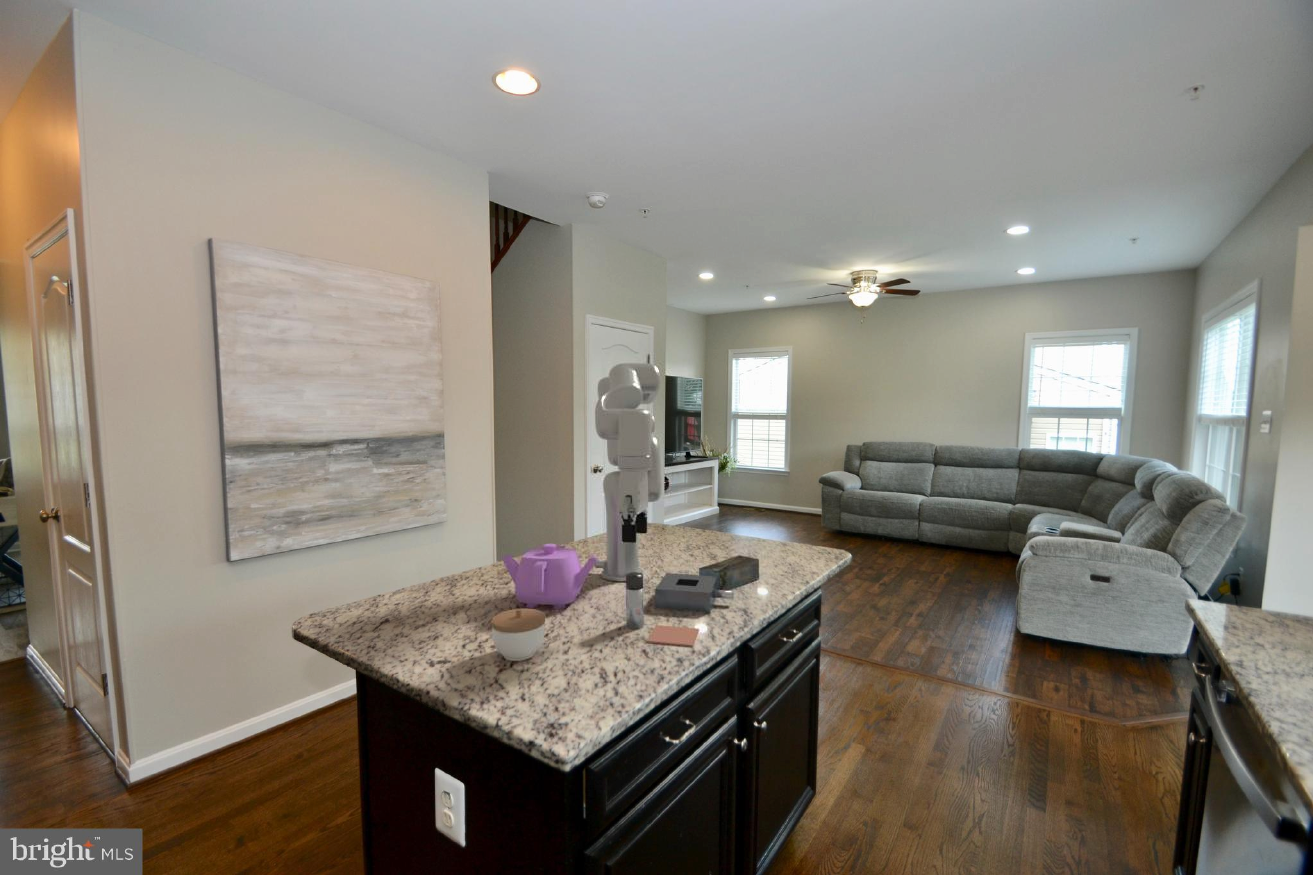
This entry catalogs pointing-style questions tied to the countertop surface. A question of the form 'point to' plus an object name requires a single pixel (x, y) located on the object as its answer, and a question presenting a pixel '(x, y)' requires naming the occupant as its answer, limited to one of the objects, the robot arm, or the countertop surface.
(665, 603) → the grey slotted box
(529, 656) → the lidded jar
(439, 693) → the countertop surface
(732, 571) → the beverage carton
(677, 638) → the mat
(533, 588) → the teapot
